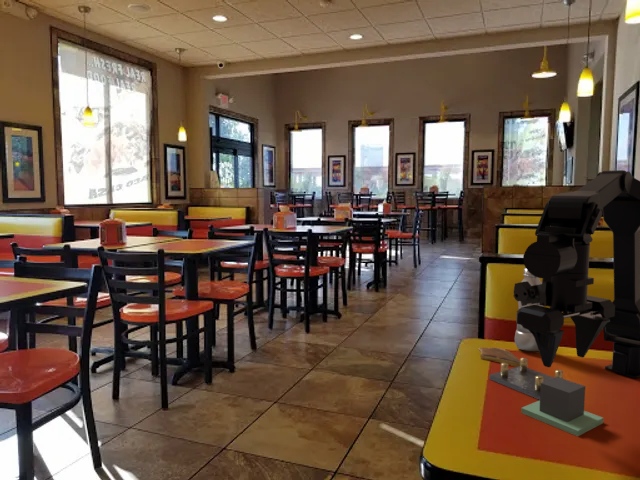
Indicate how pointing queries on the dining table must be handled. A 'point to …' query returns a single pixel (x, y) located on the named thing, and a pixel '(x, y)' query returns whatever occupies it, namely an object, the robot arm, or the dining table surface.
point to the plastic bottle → (522, 335)
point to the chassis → (523, 378)
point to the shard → (499, 356)
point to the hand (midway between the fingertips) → (564, 361)
